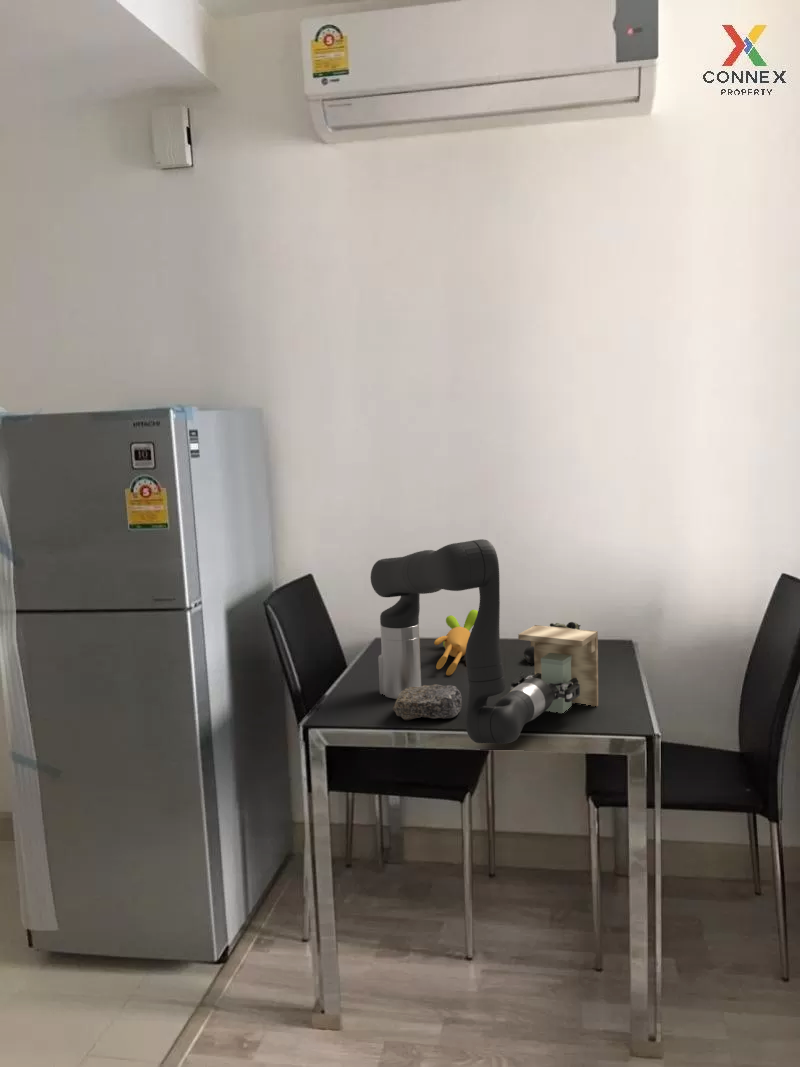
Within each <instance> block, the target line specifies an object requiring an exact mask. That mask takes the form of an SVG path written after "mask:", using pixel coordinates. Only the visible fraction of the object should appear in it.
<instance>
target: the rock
mask: <svg viewBox="0 0 800 1067" xmlns="http://www.w3.org/2000/svg"><path fill="white" fill-rule="evenodd" d="M462 698H463V697H462V693H461V691H460V690H459V689H458V688H457V686H455V685H452V684H448V685H441V684H436V683H435V684H431V685H426V684H423V685H421V686H420V687H409V688H406V689H405V690H404V691H401V692H400V694H399V695H398V698H397V699H395V703H394V704H393V706H392V711H393V712H395V714H396V715H395V716H397V717H400V718H402V719H403V720H404V721H411V720H414V719H415V720H416V719H417V718H418V719H419V718H421V717H422V718H428V719H435V720H436V719H444V720H446V719H452V718H455V717H456V716H458V715H459V713H460V712H461V710H462V708H463V700H462Z"/></svg>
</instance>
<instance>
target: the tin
mask: <svg viewBox="0 0 800 1067" xmlns="http://www.w3.org/2000/svg"><path fill="white" fill-rule="evenodd" d="M571 660H572V655H565V654H556V653H549V654H547V655H545V656H544V657H542V658H541V667H542V680H543V681H544V682H557V681H561V682H563V683H565V682H568V681H570V680H571ZM556 687H557V688H558V689H559V686H556ZM565 688H567V686H565ZM565 688H564V691H565ZM572 705H573V703H572V701H571V702H565V698H559V699H556V700H553V702H552V704H551V705H550V707H549V708H548V709H547V710H546V711H545V712H549V711H550V713H556V712H558V713H557V714H562V713H564V712H565V711H566V710H567V711H569V710H570V709H571V708H572V707H571V706H572ZM570 707H571V708H570ZM569 708H570V709H569ZM568 709H569V710H568ZM567 711H566V712H567ZM566 712H565V713H566ZM565 713H564V714H565Z"/></svg>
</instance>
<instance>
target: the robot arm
mask: <svg viewBox="0 0 800 1067" xmlns="http://www.w3.org/2000/svg"><path fill="white" fill-rule="evenodd" d="M500 583H501V582H500V564H499V558H498V553H497V551H496V549H495V546H494V545H493V544H492V542H490V541H489V540H487V539H474V540H468V541H461V542H454V543H449V544H447V545H445V546H442V547H439V549H436V550H433V549H424V550H420V551H417V552H413V553H410V554H407V555H404V556H399V557H397V556H396V557H389V558H382V559H378V560H377V561H376V562H375V563H374V564H373V566H372V568H371V571H370V584H371V587H372V589H373V590H374V593H376V595H378V596H379V597H382V598H394V597H397V598H398V597H400V598H399V600H398V601H397V602H396V603H394V604H393V605H392V606H389V608H387V609H384V610H383V611H382V612H380V616H379V620H380V621H379V622H380V624H379V625H380V642H381V643H380V645H381V653H380V654H379V655H378V678H379V679H378V680H379V681H378V682H379V695H382V694H383V696H384V695H385V696H384V697H386V698H389V699H394V700H397V698H398V695H399V694H400V692H401V691H404V690H405V689H406V688H409V687H420V686H422V673H421V672H422V671H421V670H422V668H421V666H422V665H421V643H420V642H421V640H420V639H421V638H420V595H424V594H426V595H427V594H433V593H437V592H439V591H442V590H444V591H451V592H461V591H466V590H471V589H472V590H473V589H477V588H478V589H479V590H478V591H479V604H478V610H477V611H478V614H477V617H476V620H475V623H474V625H473V626H472V628H471V631H470V636H469V639H468V642H467V646H466V653H465V655H464V656H465V665H466V672H467V673H466V674H467V681H468V687H469V688H468V699H467V700H468V701H467V707H466V708H467V710H466V716H465V729H466V730H465V731H466V733H467V736H468V737H469V738H470V739H471V740H472V742H475V743H477V744H500V745H501V744H502V745H504V744H510V743H513V742H515V741H517V740H518V738H519V737H520V735H521V732H522V730H523V728H524V726H525V725H527V723H529V722H532V721H534V720H535V719H536V718H537V717H539V716H540V715H542V714H543V713H545V712H547V711H546V710H547V709H548V708H549V707H550V705H551V704H552V702H553V700H556V699H559V698H565V702H571V701H572V700H574V699H575V698H577V697H578V696H580V684H578V680H577V678H573V679H571V680H570V681H568V682H565V683H563V682H561V681H557V682H544V681H543V680H542V678H541V673H537V674H536V675H535V674H534V675H532V676H527V678H525V676H523V675H520V676H518V677H517V678H515V679H514V680H513V681H511V682H510V691H509V692H507V693H506V694H505V695H504V696H501V697H500V698H499V699H498V700H497V701H496V703H495V704H494V706H488V704H487V703H488V699H489V697H493V696H496V695H499V694H501V693H503V692H504V691H505V688H506V679H505V672H504V664H503V658H502V650H501V641H500V640H501V639H500V638H501V636H500V635H501V634H500V618H501V616H500V615H501V613H500V607H501V606H500V604H501V600H500V596H501V595H500V586H501V585H500ZM556 686H559V689H558V688H557V687H556ZM565 686H567V688H565ZM564 688H565V691H564Z"/></svg>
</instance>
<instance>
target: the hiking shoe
mask: <svg viewBox="0 0 800 1067" xmlns="http://www.w3.org/2000/svg"><path fill="white" fill-rule="evenodd" d="M549 626H550V627H561V628H571V629H581V628H580V627H581V624H579V623H576V622H573V621H571V622H568V623H567V624H564V623H560V622H555V623H553V622H551V623H549ZM523 658H524V659H525V660H526V662H527V663H529V664H533V663H534V647H533V646H531V645H530V646H527V647H525V649H524V651H523Z"/></svg>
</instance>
